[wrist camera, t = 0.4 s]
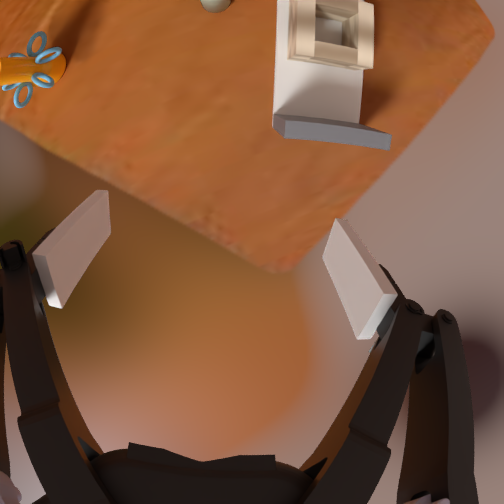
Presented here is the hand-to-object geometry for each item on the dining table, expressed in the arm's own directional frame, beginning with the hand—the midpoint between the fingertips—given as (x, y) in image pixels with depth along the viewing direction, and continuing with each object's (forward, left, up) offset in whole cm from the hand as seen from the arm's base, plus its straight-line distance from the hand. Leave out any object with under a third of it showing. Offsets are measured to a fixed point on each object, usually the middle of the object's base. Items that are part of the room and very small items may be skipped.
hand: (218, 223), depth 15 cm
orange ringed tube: (-16, -29, -27) cm, 43 cm away
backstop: (-15, +13, -27) cm, 33 cm away
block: (-18, +13, -27) cm, 34 cm away
